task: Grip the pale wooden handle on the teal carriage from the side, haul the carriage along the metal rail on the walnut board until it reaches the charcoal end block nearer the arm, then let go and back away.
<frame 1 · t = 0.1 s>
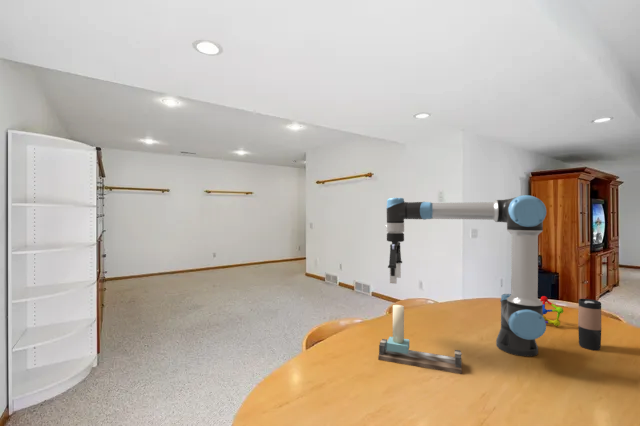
hand: (395, 280, 140), 28 cm above the table, tool pointing down, fingers open, 13 cm apart
educational toy: (544, 324, 164), on the table
carriage: (398, 327, 126), point 12 cm above the table, slide at 16.0 cm
rail board: (419, 360, 123), on the table
travel mug: (589, 347, 136), on the table
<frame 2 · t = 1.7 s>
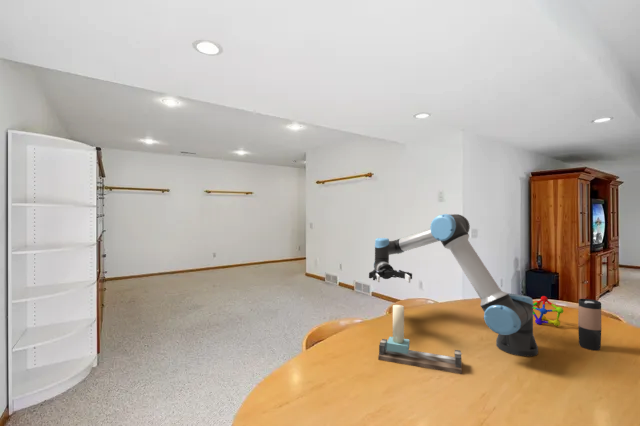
hand: (394, 279, 140), 28 cm above the table, tool horizontal, fingers open, 13 cm apart
nothing on the table moved.
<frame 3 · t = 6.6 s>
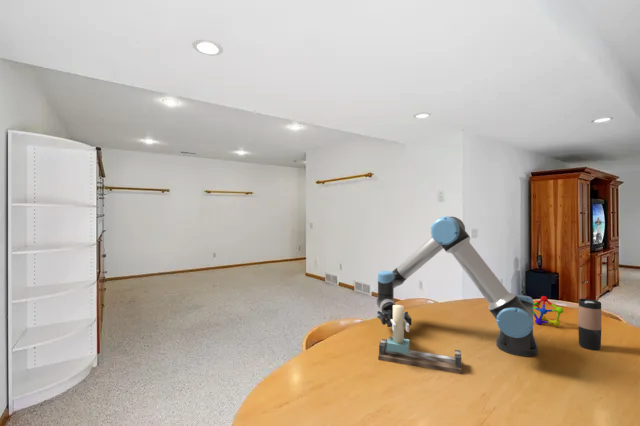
hand: (401, 328, 121), 13 cm above the table, tool horizontal, fingers closed on carriage, 4 cm apart
carriage: (398, 327, 126), point 12 cm above the table, slide at 16.0 cm, touching gripper
everything else where it was.
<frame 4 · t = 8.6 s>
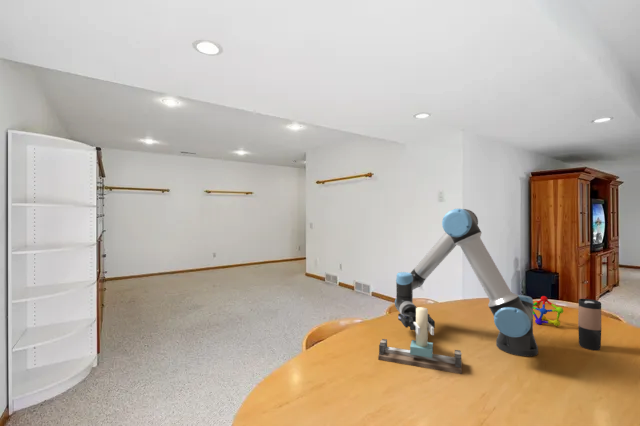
hand: (425, 331, 118), 13 cm above the table, tool horizontal, fingers closed on carriage, 4 cm apart
carriage: (421, 330, 123), point 12 cm above the table, slide at 7.0 cm, touching gripper
everything else where it was.
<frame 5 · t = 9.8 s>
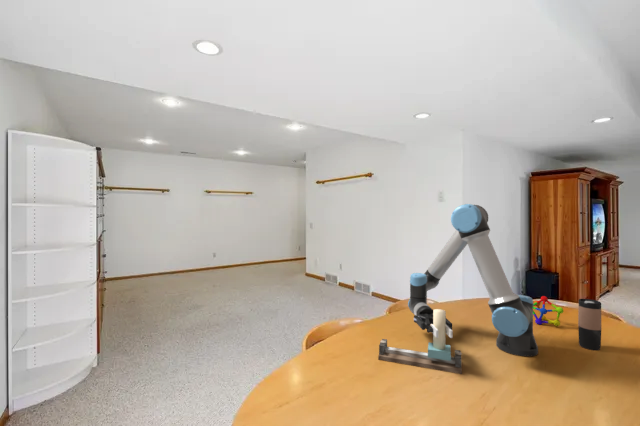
hand: (444, 334, 115), 13 cm above the table, tool horizontal, fingers closed on carriage, 4 cm apart
carriage: (439, 332, 120), point 12 cm above the table, slide at 0.6 cm, touching gripper
everything else where it was.
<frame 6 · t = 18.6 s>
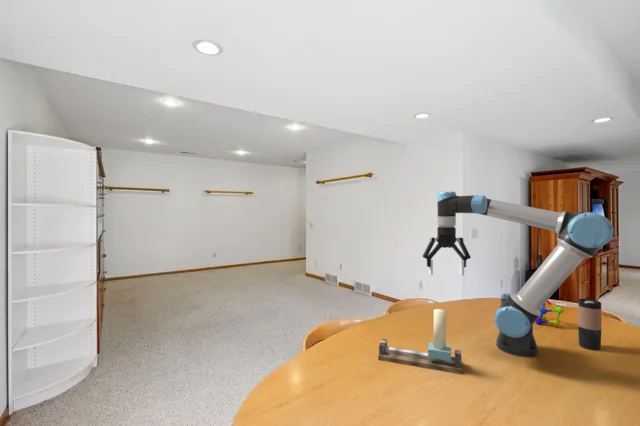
hand: (446, 274, 139), 31 cm above the table, tool pointing down, fingers open, 13 cm apart
carriage: (439, 333, 120), point 12 cm above the table, slide at 0.5 cm
everything else where it was.
at the end: carriage slide at 0.5 cm; the gripper is holding nothing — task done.
